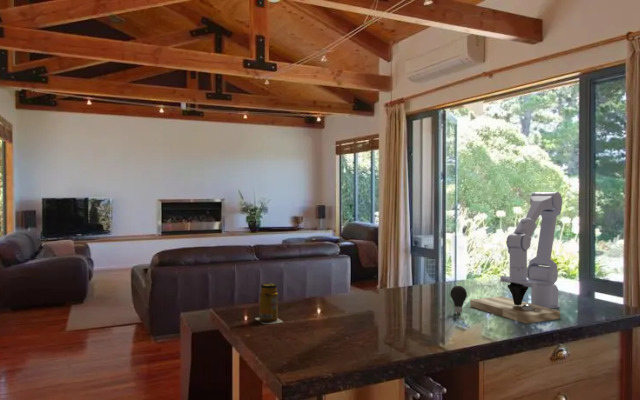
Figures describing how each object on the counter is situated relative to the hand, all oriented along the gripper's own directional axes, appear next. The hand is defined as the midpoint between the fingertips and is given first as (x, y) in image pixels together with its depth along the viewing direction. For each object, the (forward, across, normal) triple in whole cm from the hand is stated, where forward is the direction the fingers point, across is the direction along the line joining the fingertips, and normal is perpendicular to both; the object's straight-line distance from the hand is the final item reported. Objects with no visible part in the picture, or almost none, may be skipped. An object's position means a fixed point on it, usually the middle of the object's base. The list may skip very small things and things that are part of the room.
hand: (517, 304), depth 165 cm
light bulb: (+3, -8, -20) cm, 22 cm away
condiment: (+3, -26, -85) cm, 89 cm away
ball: (+1, +4, +1) cm, 4 cm away
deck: (+3, -2, 0) cm, 4 cm away
